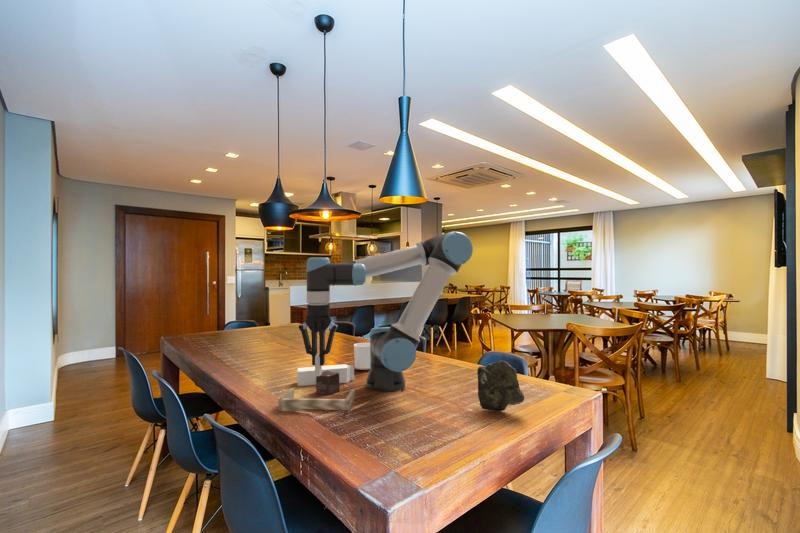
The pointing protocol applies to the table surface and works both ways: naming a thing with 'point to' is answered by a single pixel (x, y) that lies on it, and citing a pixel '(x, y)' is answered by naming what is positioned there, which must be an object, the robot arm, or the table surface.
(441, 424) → the table surface
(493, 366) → the stone
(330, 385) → the box
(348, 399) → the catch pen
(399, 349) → the robot arm
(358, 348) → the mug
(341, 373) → the milk
